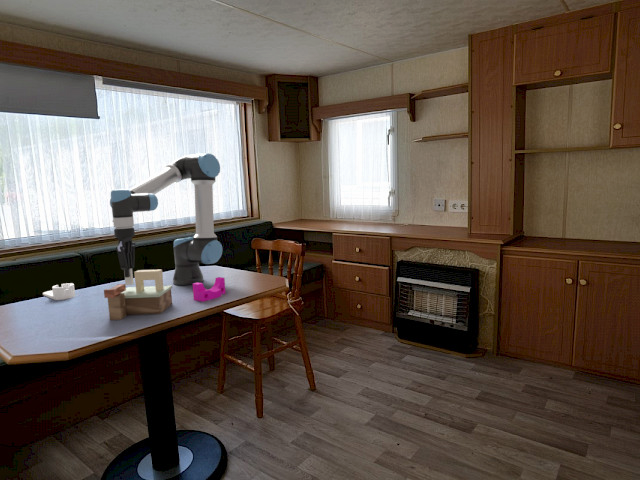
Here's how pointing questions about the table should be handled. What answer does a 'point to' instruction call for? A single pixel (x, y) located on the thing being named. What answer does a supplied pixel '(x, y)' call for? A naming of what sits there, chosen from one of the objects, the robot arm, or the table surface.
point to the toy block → (212, 293)
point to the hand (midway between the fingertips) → (129, 284)
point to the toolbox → (137, 305)
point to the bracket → (61, 292)
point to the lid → (149, 290)
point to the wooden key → (114, 291)
